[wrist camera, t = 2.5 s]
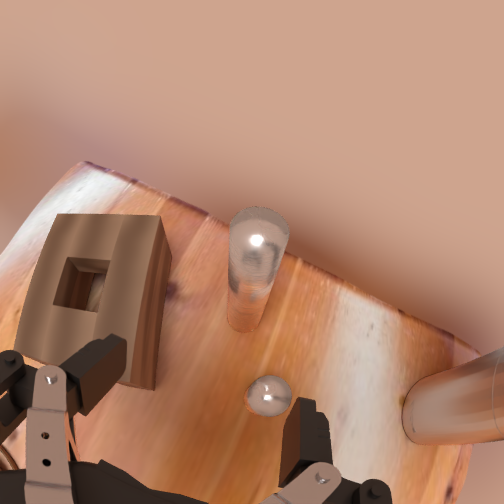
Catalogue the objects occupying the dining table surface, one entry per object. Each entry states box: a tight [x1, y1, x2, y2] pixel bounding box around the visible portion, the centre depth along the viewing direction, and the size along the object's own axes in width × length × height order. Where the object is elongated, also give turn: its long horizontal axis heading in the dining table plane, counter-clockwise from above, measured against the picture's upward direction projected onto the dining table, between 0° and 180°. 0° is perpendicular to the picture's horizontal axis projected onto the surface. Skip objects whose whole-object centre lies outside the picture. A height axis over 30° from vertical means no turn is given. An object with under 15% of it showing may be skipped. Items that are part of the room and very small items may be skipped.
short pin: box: [244, 375, 292, 417], centre depth 23 cm, size 4×4×6 cm
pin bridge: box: [13, 214, 172, 391], centre depth 26 cm, size 13×16×8 cm
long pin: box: [227, 207, 289, 333], centre depth 24 cm, size 4×4×16 cm
